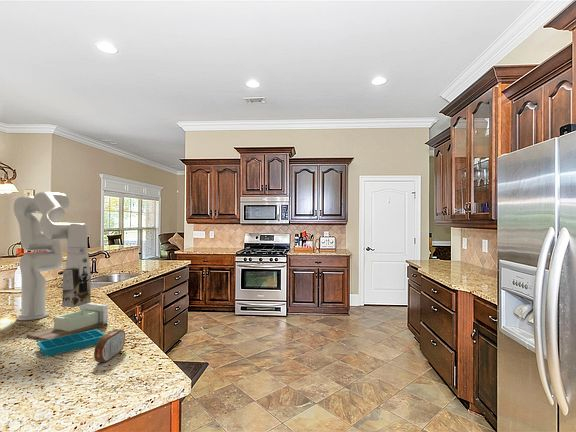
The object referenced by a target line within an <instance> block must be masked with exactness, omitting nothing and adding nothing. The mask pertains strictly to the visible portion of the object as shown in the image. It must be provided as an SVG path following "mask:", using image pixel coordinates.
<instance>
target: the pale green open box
mask: <svg viewBox="0 0 576 432" xmlns="http://www.w3.org/2000/svg"><path fill="white" fill-rule="evenodd" d="M97 323H98V312H96V311H89V310H80V309H79V310H77V311H72V312H69V313H64V314H61V315H58V316H57V315H56V316H53V327H54V329H58V330H63V331H68V332H70V331H73V330H76V329H80V328H83V327H86V326H90V325H93V324H97Z"/></svg>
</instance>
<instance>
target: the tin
mask: <svg viewBox="0 0 576 432" xmlns="http://www.w3.org/2000/svg"><path fill="white" fill-rule="evenodd" d="M104 334H105V335H103V336H102V337H101V338H100V339H99V340H98V342H97V344H95V346H94V350H93V358H94V361H95V362H97V363H107V362H109V361H110V360H112V358H114V357H116V356H117V355H119V354H120V353H121V352H122V350H123V348H124V347H125V343H126V333H125V331H124V330H123V329H117V328H114V329H113V330H111V331H108V332H107V333H104Z"/></svg>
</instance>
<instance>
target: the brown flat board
mask: <svg viewBox="0 0 576 432" xmlns="http://www.w3.org/2000/svg"><path fill="white" fill-rule="evenodd" d="M105 326H108V322H107V323H105V324H100V323H97V324H93V325H90V326H86V327H83V328H80V329H76V330H73V331H70V332H68V331H63V330H58V329H54V326H53V327H50V328H46V329H42V330H39V331H35V332H30V333H28V334H26V338H29V339H35V340H37V341H44V340H49V339H53V338H58V337H62V336H67V335H72V334H76V333H81V332H86V331H90V330H97V329H100V328H102V327H105Z"/></svg>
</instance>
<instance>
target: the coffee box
mask: <svg viewBox="0 0 576 432" xmlns="http://www.w3.org/2000/svg"><path fill="white" fill-rule="evenodd" d="M90 273H91V274H92V267H91V266H90ZM82 276H84V275H83V274H82ZM82 279H84V278H82ZM79 284H80V278H79V277H78V269H66V268H64V269H62V297H61V298H62V299H61V300H62V303H61V304H62V306H61V307H62V308H65V307H66V308H77V307H80V305H84V304H87V303H92V302H91V300H92V299H91V295H92V293H91V292H92V291H91V289H92V285H91V284H92V275H91V276H90V278H89V280H88V283H87V292H83V293H79Z"/></svg>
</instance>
